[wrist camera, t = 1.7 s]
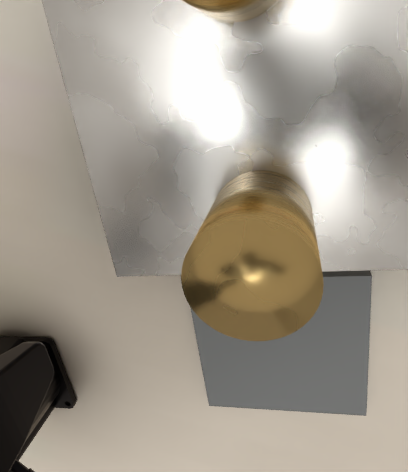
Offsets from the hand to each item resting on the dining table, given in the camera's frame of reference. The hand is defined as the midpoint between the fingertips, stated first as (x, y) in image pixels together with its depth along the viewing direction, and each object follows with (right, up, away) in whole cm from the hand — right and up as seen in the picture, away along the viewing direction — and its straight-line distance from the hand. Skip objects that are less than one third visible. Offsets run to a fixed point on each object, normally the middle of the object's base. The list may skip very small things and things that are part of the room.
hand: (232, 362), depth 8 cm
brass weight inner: (+2, +3, +7) cm, 8 cm away
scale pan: (+1, +8, +6) cm, 10 cm away
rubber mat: (+4, -4, +15) cm, 16 cm away
